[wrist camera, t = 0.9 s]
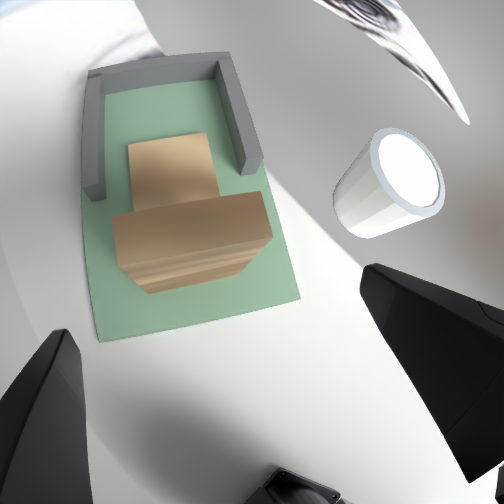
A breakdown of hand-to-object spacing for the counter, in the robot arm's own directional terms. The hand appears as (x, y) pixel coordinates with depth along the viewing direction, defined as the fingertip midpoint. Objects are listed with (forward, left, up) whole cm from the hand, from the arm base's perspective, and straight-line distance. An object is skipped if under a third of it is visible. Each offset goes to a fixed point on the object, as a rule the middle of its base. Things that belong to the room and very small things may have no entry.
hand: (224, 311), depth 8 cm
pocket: (+12, -10, -12) cm, 20 cm away
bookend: (+6, -5, -12) cm, 14 cm away
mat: (+8, -7, -12) cm, 17 cm away
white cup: (-5, -15, -13) cm, 20 cm away
